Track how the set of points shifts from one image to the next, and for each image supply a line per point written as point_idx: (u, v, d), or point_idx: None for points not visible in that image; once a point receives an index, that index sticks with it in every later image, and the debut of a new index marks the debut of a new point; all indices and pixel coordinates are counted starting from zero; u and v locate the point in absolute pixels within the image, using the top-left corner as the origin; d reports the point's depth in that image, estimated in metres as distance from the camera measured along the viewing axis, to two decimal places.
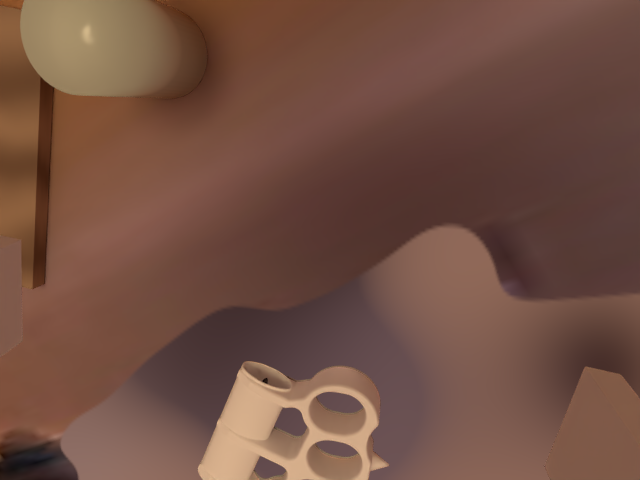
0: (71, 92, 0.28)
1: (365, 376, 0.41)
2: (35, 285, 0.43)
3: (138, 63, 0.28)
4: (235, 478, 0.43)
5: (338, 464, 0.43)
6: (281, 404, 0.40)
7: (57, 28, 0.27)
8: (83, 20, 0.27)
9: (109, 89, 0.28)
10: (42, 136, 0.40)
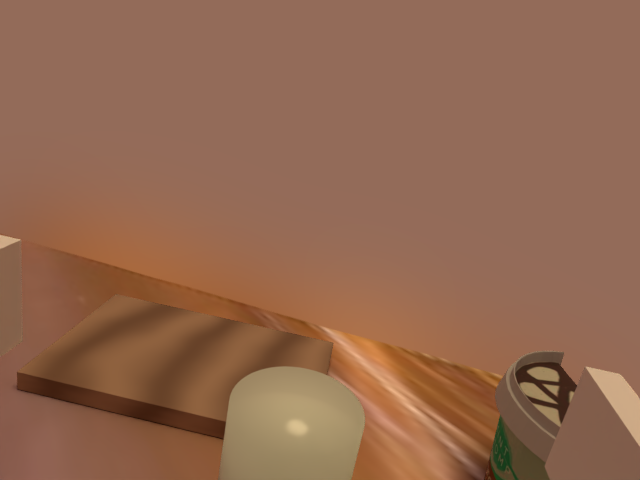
0: (233, 391, 0.24)
1: None
2: (19, 377, 0.37)
3: (260, 472, 0.21)
4: None
5: None
6: None
7: (302, 394, 0.25)
8: (311, 416, 0.23)
9: (231, 430, 0.22)
10: (188, 418, 0.36)
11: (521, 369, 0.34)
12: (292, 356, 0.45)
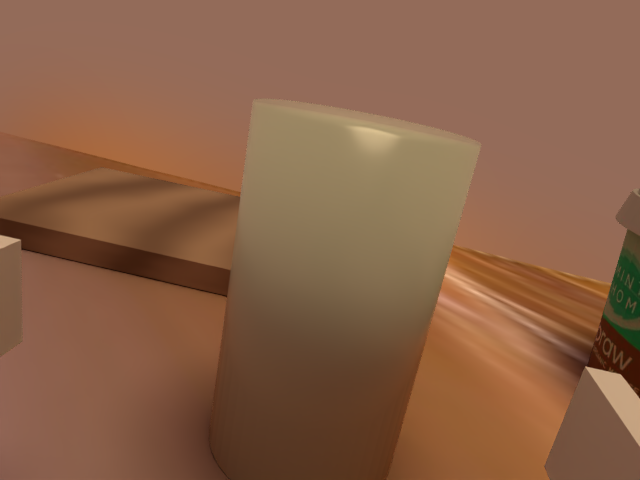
0: (260, 99, 0.14)
1: None
2: None
3: (311, 180, 0.12)
4: None
5: None
6: None
7: (370, 118, 0.15)
8: (392, 127, 0.14)
9: (259, 130, 0.13)
10: (188, 269, 0.26)
11: None
12: None
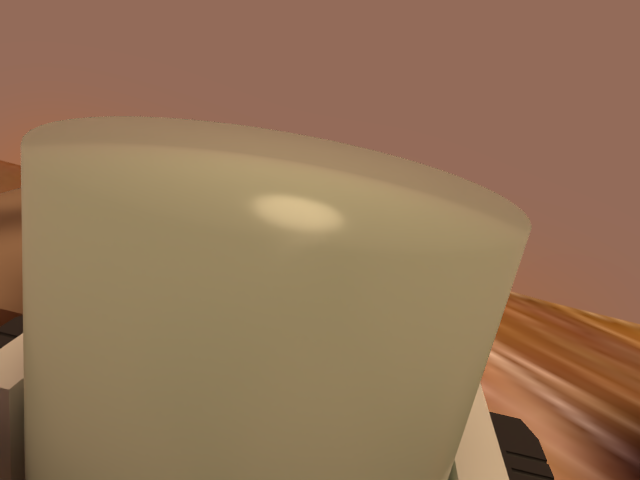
0: (77, 120, 0.07)
1: None
2: None
3: (110, 342, 0.05)
4: None
5: None
6: None
7: (307, 154, 0.08)
8: (339, 181, 0.06)
9: (23, 197, 0.06)
10: None
11: None
12: None
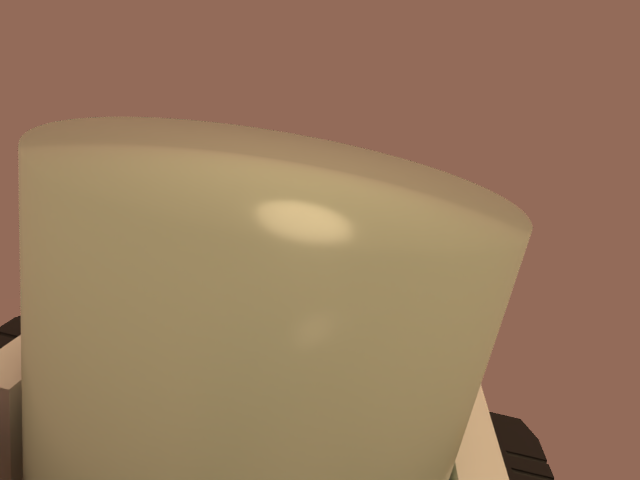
0: (76, 120, 0.07)
1: None
2: None
3: (108, 345, 0.04)
4: None
5: None
6: None
7: (307, 155, 0.08)
8: (338, 181, 0.06)
9: None
10: None
11: None
12: None
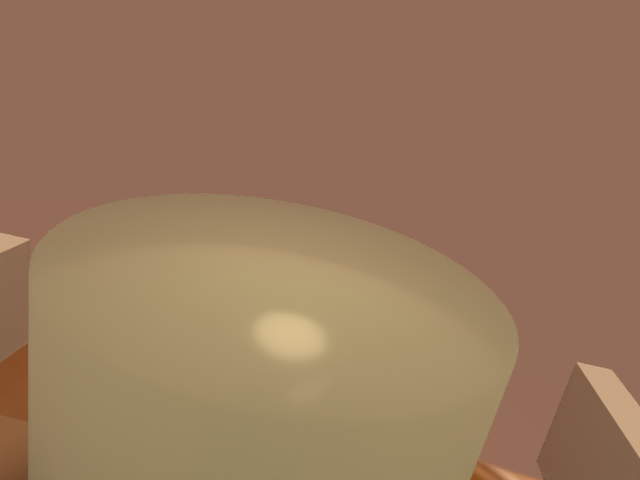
0: (82, 216, 0.07)
1: None
2: None
3: None
4: None
5: None
6: None
7: (305, 243, 0.08)
8: (335, 291, 0.07)
9: None
10: None
11: None
12: None
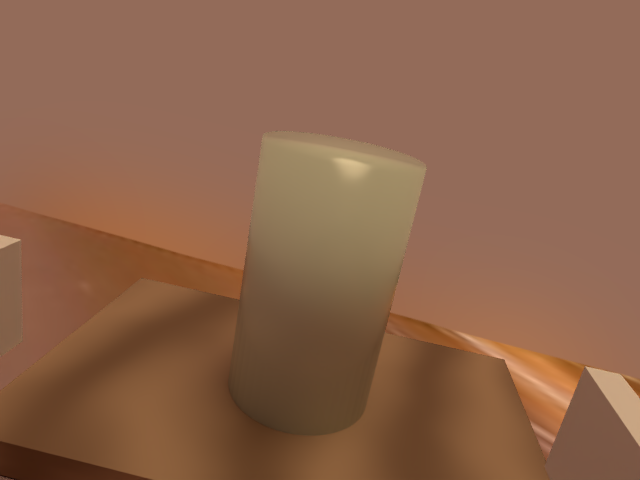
0: (267, 133, 0.20)
1: None
2: None
3: (303, 195, 0.17)
4: None
5: None
6: None
7: (349, 146, 0.20)
8: (362, 155, 0.19)
9: (267, 158, 0.18)
10: None
11: None
12: (454, 384, 0.26)
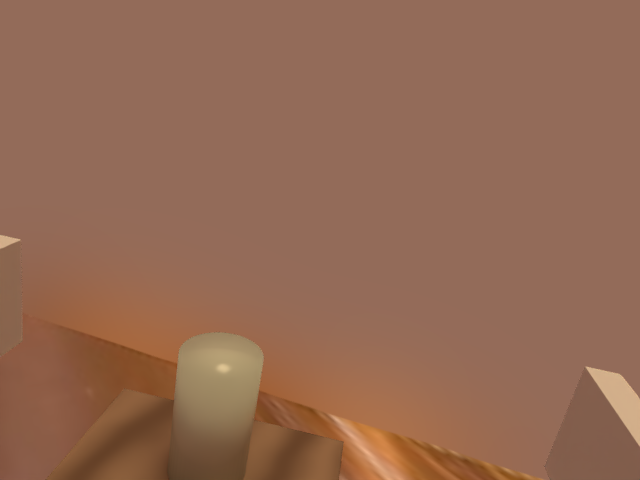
0: (183, 345, 0.39)
1: None
2: None
3: (194, 389, 0.36)
4: None
5: None
6: None
7: (227, 347, 0.39)
8: (229, 359, 0.38)
9: (179, 366, 0.37)
10: None
11: None
12: (302, 462, 0.44)
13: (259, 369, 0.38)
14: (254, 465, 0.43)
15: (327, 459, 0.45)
